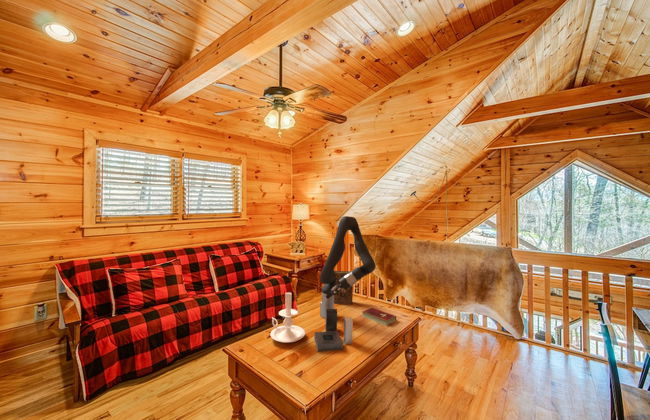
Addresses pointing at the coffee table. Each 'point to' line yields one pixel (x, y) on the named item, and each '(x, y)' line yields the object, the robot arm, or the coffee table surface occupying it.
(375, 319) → the hardcover book
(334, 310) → the block
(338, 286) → the robot arm
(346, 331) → the square bit
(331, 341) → the bore plate
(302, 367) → the coffee table surface
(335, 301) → the book
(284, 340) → the candlestick
